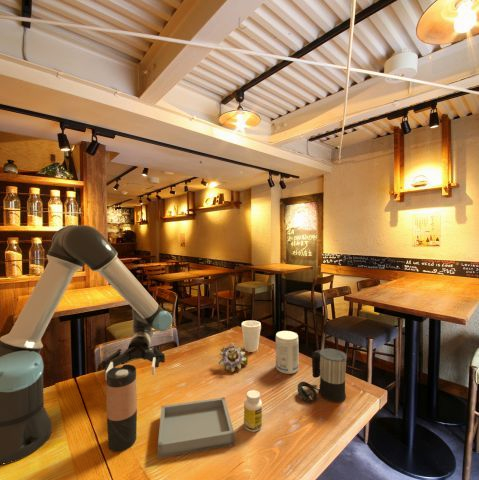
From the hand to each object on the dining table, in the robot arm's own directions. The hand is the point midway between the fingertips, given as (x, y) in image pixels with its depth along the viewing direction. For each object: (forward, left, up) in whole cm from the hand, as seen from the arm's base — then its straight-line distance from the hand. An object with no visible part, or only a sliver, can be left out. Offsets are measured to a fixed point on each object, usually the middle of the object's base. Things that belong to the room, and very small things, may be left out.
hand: (130, 373), depth 85 cm
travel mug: (0, -11, -14) cm, 17 cm away
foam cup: (+50, +37, -14) cm, 64 cm away
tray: (+20, -11, -14) cm, 26 cm away
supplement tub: (+60, +16, -14) cm, 63 cm away
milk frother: (+64, -4, -14) cm, 66 cm away
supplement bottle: (+37, -13, -14) cm, 41 cm away
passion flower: (+38, +23, -14) cm, 46 cm away
